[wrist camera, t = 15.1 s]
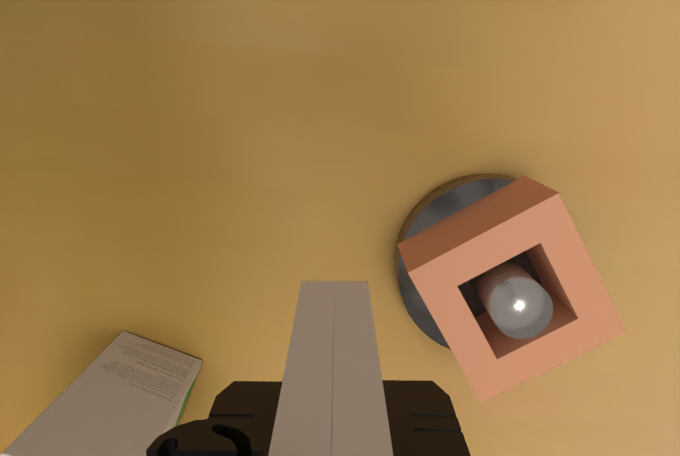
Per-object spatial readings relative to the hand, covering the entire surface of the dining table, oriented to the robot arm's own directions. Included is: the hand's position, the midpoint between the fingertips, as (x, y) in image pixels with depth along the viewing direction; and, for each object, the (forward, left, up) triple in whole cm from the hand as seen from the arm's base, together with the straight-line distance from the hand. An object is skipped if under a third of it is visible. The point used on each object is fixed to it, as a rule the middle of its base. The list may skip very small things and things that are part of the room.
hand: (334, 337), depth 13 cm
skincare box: (+16, -14, -27) cm, 34 cm away
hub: (+6, +10, -26) cm, 29 cm away
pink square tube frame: (+6, +10, -24) cm, 27 cm away
